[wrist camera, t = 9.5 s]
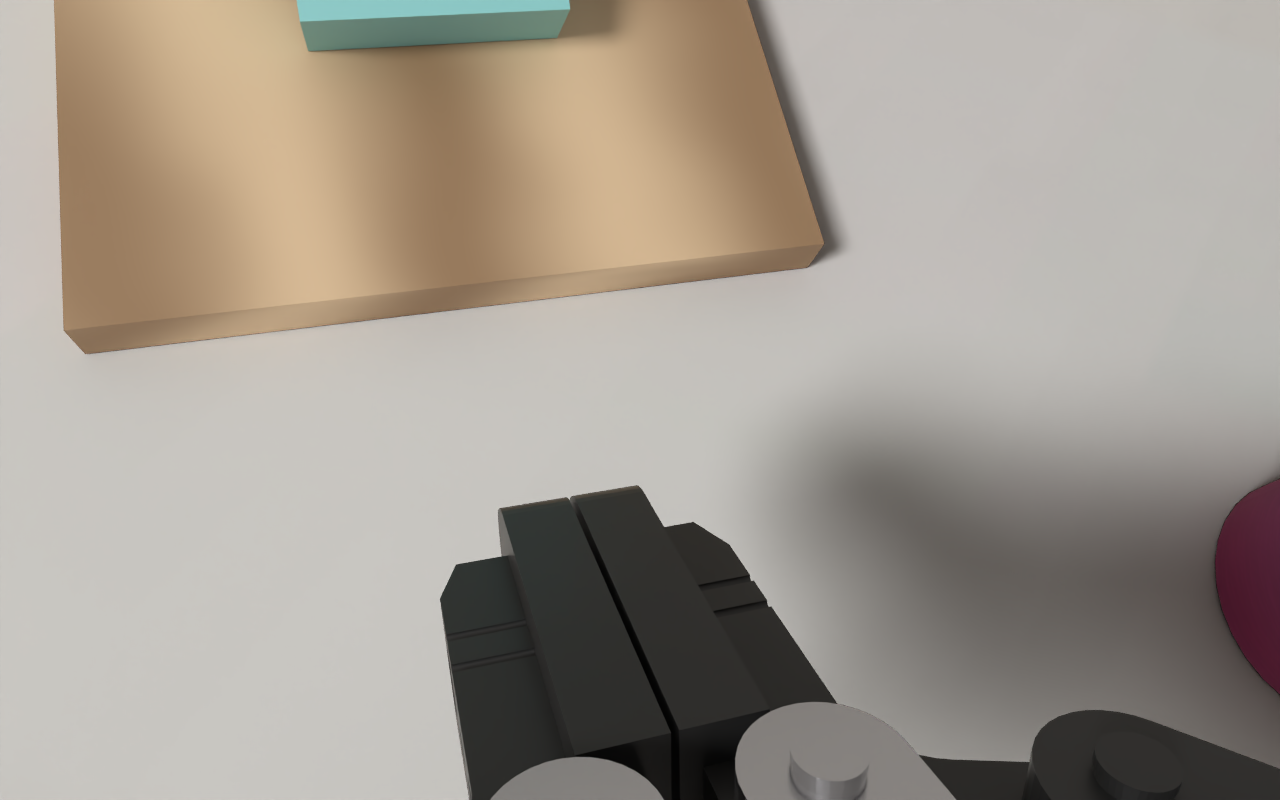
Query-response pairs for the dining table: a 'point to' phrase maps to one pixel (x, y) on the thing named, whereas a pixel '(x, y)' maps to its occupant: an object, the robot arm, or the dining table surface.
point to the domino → (426, 22)
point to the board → (406, 166)
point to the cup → (1253, 578)
